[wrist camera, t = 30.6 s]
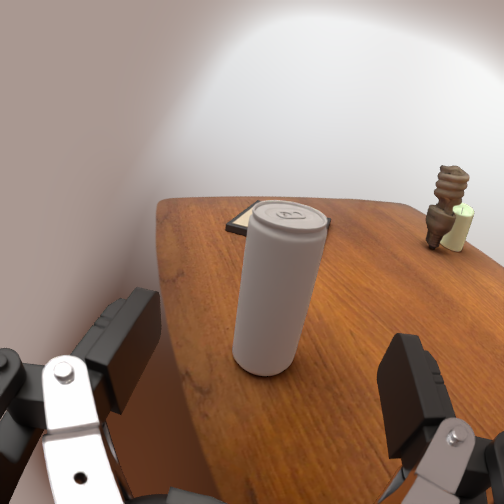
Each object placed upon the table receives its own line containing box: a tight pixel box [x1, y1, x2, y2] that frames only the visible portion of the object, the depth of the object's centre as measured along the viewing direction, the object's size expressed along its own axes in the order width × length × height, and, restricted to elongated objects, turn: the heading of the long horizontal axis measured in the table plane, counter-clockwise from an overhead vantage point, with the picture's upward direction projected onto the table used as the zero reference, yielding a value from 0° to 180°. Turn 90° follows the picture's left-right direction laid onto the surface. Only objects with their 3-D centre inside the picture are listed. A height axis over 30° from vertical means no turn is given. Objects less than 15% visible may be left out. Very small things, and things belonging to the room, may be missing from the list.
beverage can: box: [232, 200, 328, 376], centre depth 22 cm, size 5×5×12 cm
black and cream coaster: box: [225, 200, 331, 236], centre depth 49 cm, size 13×13×1 cm
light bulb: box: [426, 165, 469, 249], centre depth 46 cm, size 6×6×15 cm
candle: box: [440, 203, 474, 252], centre depth 51 cm, size 5×5×8 cm
